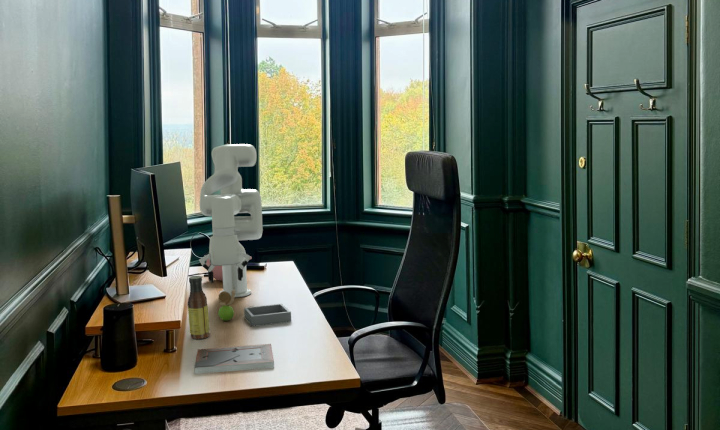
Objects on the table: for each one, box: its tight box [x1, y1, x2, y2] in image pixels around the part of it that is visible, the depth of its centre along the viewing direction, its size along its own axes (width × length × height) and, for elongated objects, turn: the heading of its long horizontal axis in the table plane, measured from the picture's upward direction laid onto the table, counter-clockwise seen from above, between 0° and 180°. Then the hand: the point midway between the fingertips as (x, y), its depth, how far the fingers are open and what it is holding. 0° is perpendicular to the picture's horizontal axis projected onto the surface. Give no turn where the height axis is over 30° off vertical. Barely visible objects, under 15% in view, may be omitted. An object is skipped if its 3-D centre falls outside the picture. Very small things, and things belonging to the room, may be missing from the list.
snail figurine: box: [217, 287, 236, 322], centre depth 242 cm, size 5×6×12 cm
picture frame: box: [194, 343, 275, 375], centre depth 199 cm, size 16×2×22 cm
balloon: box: [205, 256, 253, 282], centre depth 307 cm, size 15×20×15 cm
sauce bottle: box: [187, 275, 211, 340], centre depth 222 cm, size 6×6×20 cm
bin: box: [243, 303, 292, 327], centre depth 242 cm, size 13×14×4 cm
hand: (225, 281), depth 240 cm, fingers open, 9 cm apart
